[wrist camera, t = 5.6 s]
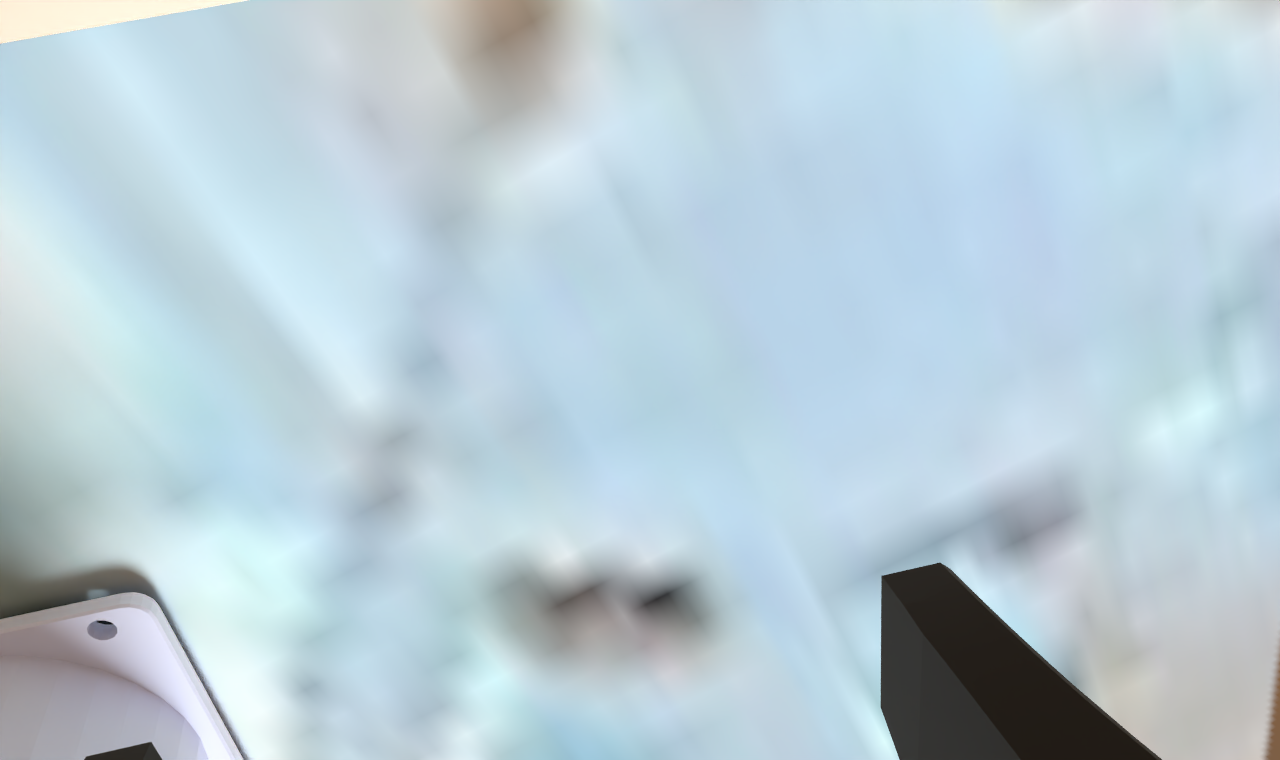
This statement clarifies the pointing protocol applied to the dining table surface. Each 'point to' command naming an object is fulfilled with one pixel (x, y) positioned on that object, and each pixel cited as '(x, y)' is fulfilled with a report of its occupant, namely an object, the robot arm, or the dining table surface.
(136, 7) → the tile
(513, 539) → the dining table surface
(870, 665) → the dining table surface
